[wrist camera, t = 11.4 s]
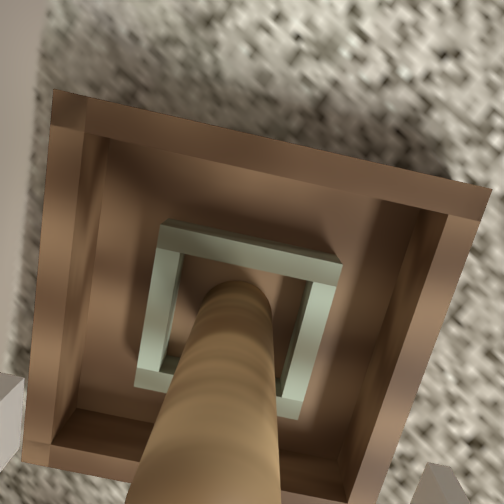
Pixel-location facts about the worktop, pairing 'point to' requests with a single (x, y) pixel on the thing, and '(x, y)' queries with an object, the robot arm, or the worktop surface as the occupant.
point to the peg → (218, 410)
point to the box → (234, 269)
